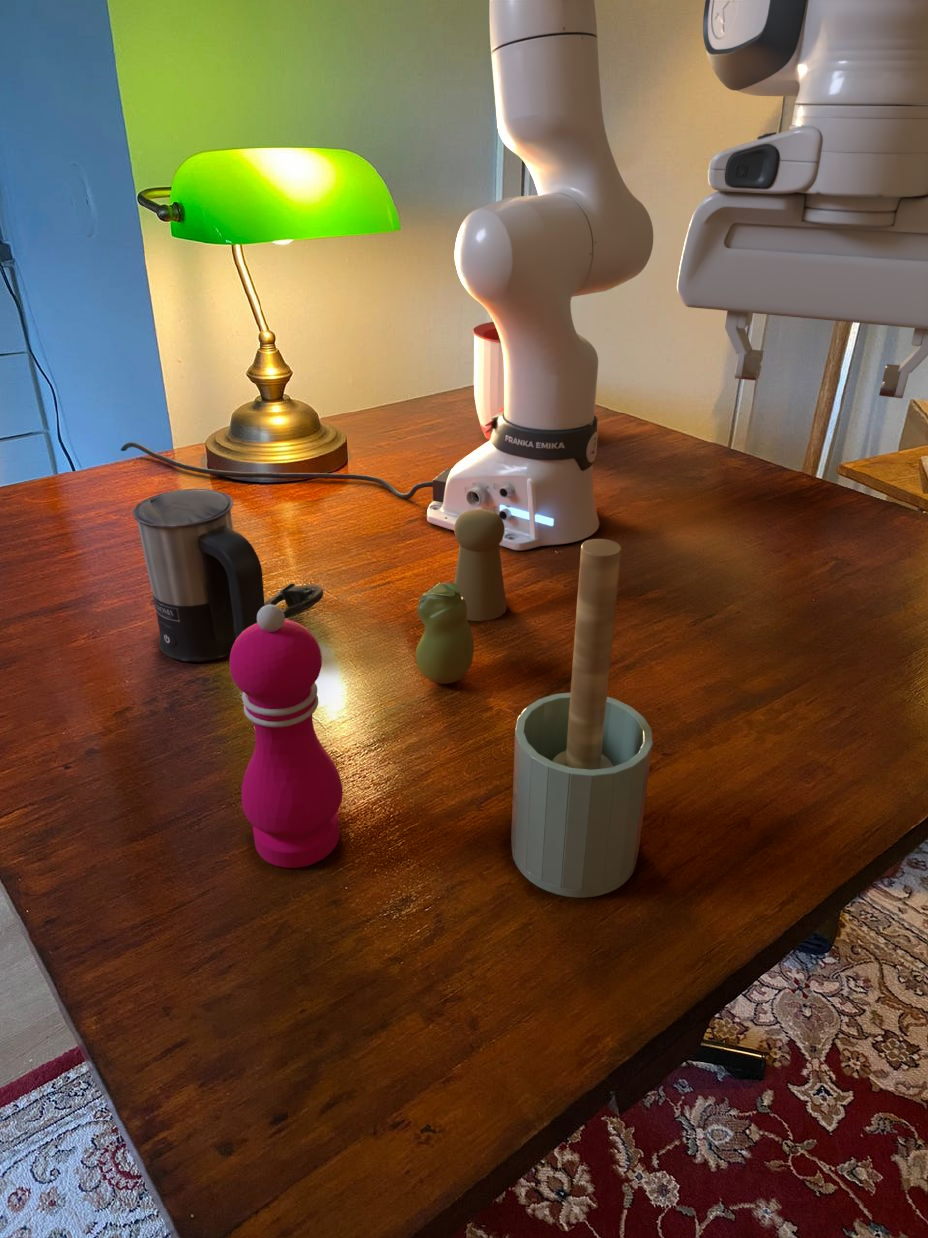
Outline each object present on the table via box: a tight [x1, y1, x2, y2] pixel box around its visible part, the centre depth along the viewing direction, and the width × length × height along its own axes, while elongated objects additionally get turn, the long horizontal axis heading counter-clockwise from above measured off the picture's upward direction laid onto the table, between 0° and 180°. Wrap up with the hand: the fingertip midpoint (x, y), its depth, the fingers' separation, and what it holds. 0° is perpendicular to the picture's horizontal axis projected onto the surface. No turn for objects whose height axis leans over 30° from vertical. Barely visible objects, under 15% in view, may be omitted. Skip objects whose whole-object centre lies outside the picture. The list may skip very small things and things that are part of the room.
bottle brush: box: [552, 538, 622, 770], centre depth 61 cm, size 4×4×24 cm
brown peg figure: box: [453, 509, 507, 622], centre depth 96 cm, size 6×6×11 cm
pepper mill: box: [228, 605, 344, 869], centre depth 63 cm, size 7×7×20 cm
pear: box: [414, 582, 475, 685], centre depth 84 cm, size 6×5×10 cm
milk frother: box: [132, 488, 324, 663], centre depth 91 cm, size 14×16×15 cm
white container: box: [472, 321, 504, 441], centre depth 143 cm, size 16×17×20 cm
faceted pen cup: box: [510, 692, 654, 899], centre depth 64 cm, size 9×9×11 cm
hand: (816, 386), depth 62 cm, fingers open, 8 cm apart
